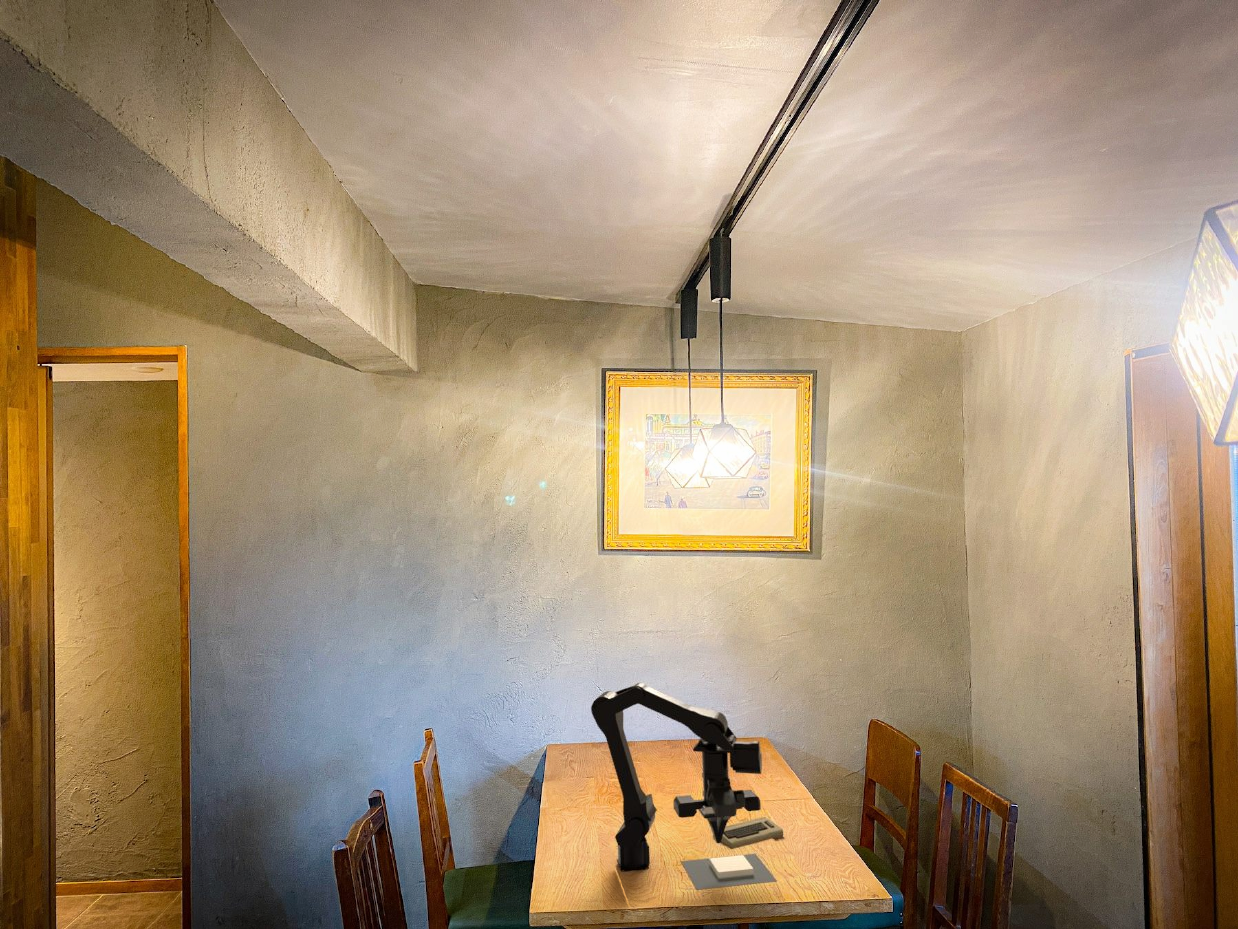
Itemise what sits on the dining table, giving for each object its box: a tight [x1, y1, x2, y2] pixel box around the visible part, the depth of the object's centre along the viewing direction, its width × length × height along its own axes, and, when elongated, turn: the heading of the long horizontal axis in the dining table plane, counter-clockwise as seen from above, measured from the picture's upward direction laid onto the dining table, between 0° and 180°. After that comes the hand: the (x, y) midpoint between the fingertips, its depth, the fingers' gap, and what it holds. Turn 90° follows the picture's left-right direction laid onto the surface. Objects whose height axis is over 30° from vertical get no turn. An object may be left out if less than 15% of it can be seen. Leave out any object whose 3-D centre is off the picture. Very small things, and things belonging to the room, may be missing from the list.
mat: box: [680, 853, 778, 891], centre depth 174 cm, size 18×14×1 cm
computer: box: [712, 816, 784, 849], centre depth 193 cm, size 16×8×3 cm, turn 117°
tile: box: [709, 854, 754, 879], centre depth 174 cm, size 2×7×8 cm
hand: (718, 842), depth 174 cm, fingers closed
